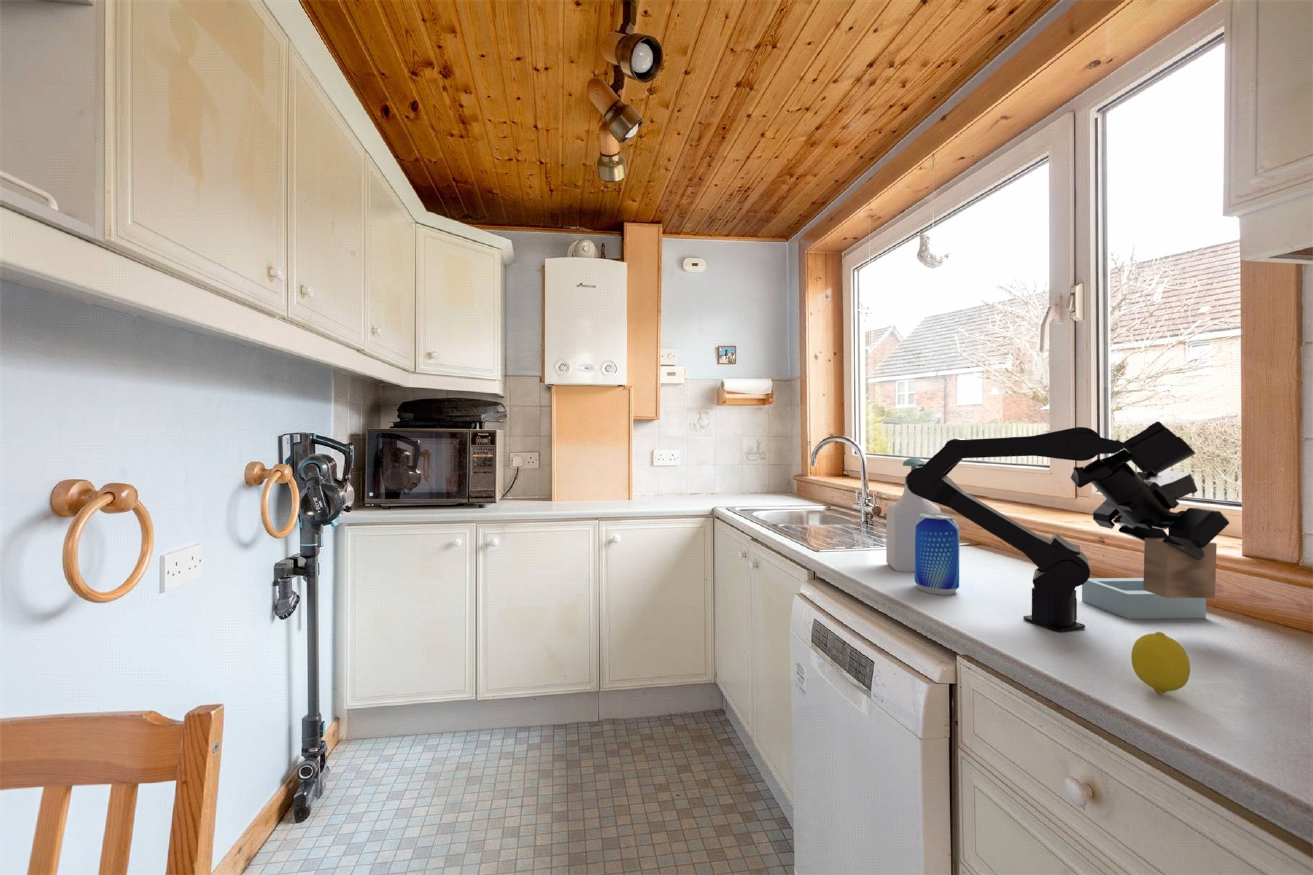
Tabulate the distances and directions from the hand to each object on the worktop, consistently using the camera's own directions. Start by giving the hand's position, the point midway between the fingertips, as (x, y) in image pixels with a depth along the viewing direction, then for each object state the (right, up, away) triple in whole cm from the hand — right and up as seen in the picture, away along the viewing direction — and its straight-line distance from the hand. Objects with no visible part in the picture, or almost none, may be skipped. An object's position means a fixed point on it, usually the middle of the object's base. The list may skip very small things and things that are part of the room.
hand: (1187, 554), depth 88 cm
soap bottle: (-25, -13, +41) cm, 50 cm away
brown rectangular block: (-2, -7, 0) cm, 7 cm away
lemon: (-23, -14, -19) cm, 33 cm away
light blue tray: (+3, -13, +12) cm, 18 cm away
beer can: (-29, -13, +25) cm, 40 cm away
